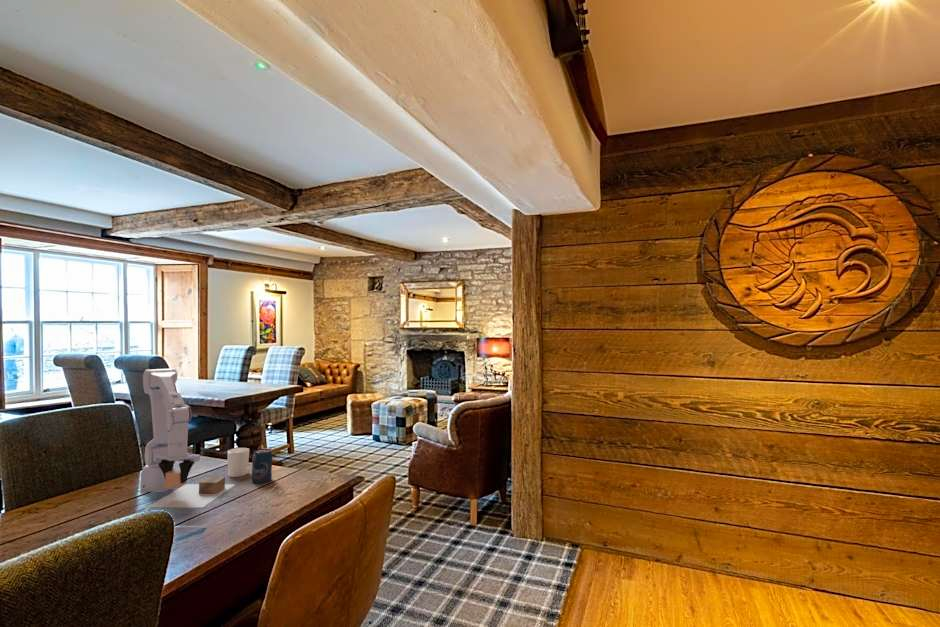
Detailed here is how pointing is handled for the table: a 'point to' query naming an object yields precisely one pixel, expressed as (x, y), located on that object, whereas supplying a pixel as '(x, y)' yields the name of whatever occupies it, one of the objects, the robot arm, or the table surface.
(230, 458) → the white cup
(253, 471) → the soda can
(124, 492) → the table surface
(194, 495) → the white flat board
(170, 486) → the top block
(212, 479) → the base block
